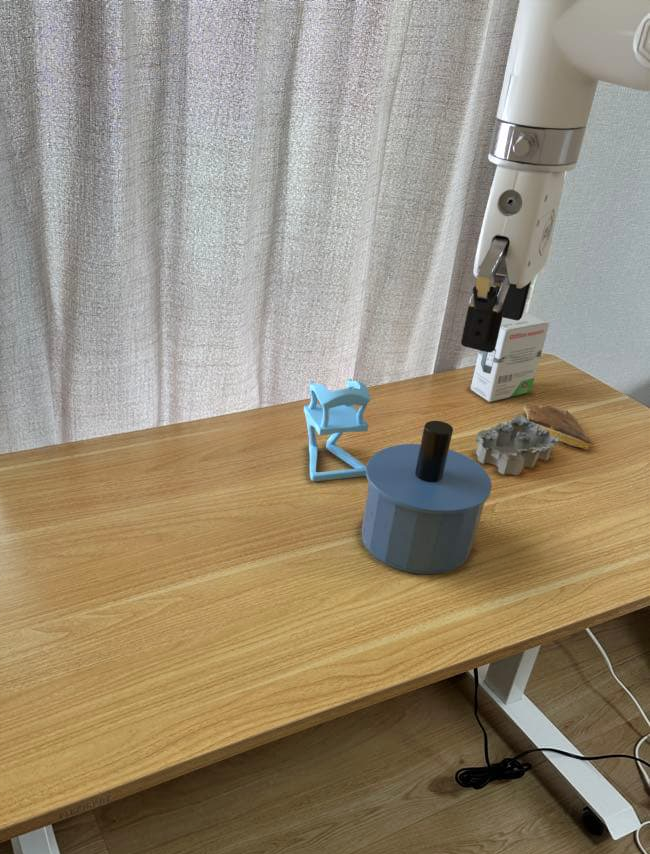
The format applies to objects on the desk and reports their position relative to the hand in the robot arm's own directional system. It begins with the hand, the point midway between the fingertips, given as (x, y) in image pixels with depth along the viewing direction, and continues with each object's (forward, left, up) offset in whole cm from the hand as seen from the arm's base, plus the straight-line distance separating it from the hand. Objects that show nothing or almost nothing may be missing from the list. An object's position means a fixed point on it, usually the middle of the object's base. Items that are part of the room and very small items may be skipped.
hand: (492, 332), depth 80 cm
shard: (-6, -35, -25) cm, 44 cm away
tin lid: (+2, +3, -17) cm, 17 cm away
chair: (+18, -7, -25) cm, 32 cm away
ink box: (+5, -42, -25) cm, 49 cm away
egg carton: (-2, -23, -25) cm, 34 cm away
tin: (+2, +3, -25) cm, 25 cm away
